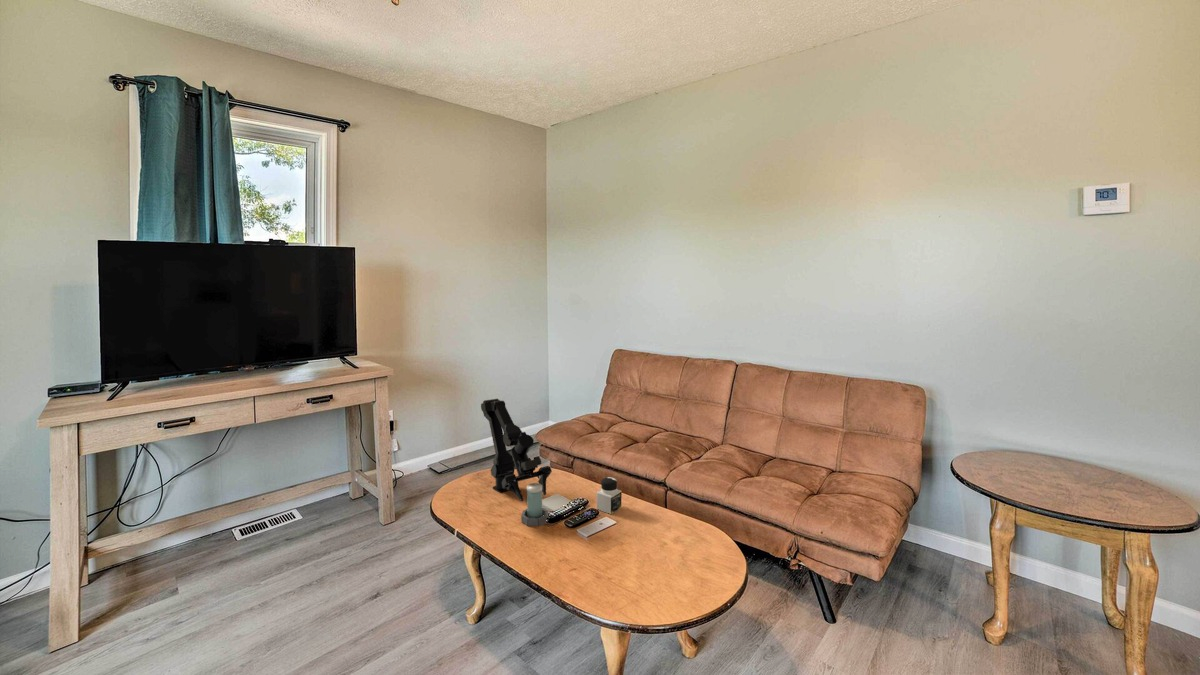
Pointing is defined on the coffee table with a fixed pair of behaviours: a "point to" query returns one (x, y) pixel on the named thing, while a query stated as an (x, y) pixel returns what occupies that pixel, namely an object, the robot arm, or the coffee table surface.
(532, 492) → the jar
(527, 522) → the holder ring
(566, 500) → the tray
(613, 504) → the medicine bottle
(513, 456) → the robot arm
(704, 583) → the coffee table surface
